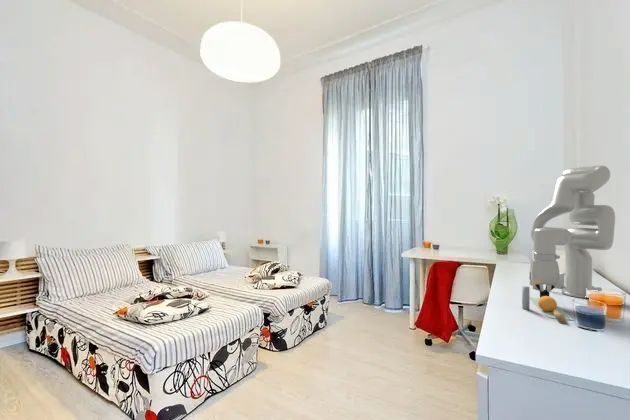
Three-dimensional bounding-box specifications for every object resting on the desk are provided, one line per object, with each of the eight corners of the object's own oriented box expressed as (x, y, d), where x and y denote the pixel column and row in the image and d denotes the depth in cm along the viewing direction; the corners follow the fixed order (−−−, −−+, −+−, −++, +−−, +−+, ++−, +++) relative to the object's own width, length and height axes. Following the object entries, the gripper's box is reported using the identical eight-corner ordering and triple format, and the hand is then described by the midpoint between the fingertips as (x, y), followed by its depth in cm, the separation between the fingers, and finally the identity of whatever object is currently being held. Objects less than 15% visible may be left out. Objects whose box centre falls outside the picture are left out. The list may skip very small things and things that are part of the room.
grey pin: (526, 307, 126) (526, 286, 126) (530, 309, 123) (530, 287, 123) (520, 307, 126) (520, 286, 126) (525, 309, 123) (525, 287, 123)
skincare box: (550, 284, 165) (550, 270, 165) (564, 286, 159) (564, 272, 159) (546, 286, 161) (546, 272, 161) (560, 288, 156) (560, 274, 156)
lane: (528, 297, 140) (528, 297, 140) (549, 299, 137) (549, 299, 137) (547, 317, 114) (547, 317, 114) (574, 320, 111) (574, 320, 111)
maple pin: (557, 308, 117) (563, 315, 109) (561, 314, 116) (567, 321, 108) (550, 310, 118) (556, 318, 110) (555, 316, 117) (560, 324, 109)
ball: (557, 314, 117) (556, 312, 122) (558, 298, 117) (556, 297, 122) (538, 310, 120) (537, 309, 125) (538, 295, 121) (537, 294, 126)
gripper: (562, 257, 132) (562, 299, 132) (521, 255, 137) (521, 296, 137) (569, 259, 125) (569, 304, 125) (525, 257, 130) (525, 300, 131)
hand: (544, 300), depth 131 cm, fingers closed
